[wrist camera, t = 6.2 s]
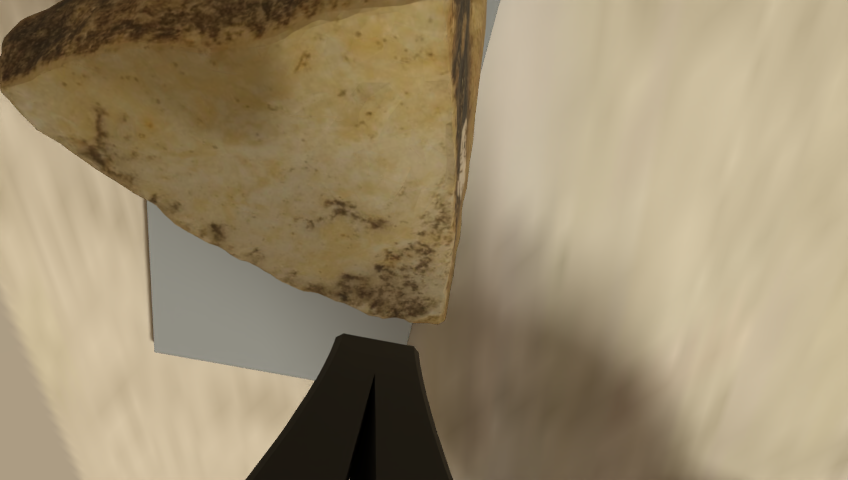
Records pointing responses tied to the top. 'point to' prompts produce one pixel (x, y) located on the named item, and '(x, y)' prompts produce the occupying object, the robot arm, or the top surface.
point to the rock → (275, 128)
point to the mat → (249, 304)
